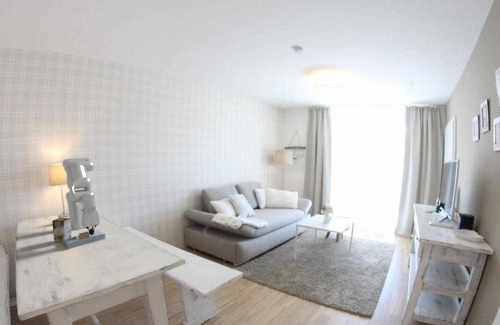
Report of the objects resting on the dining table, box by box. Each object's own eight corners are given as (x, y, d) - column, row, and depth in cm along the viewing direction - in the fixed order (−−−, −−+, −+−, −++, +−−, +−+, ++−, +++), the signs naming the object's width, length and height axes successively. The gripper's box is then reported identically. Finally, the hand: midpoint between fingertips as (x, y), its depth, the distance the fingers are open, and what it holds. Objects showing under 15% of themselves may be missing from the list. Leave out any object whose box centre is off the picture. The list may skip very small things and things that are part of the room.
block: (79, 238, 168) (78, 233, 168) (87, 236, 172) (87, 231, 172) (80, 240, 165) (80, 235, 165) (89, 237, 168) (89, 233, 168)
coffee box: (53, 242, 170) (51, 220, 169) (61, 238, 176) (59, 217, 175) (65, 242, 169) (63, 220, 168) (72, 239, 176) (70, 217, 174)
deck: (63, 243, 168) (62, 237, 168) (98, 233, 184) (98, 228, 184) (68, 249, 158) (67, 243, 157) (105, 238, 174) (105, 233, 174)
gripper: (78, 213, 161) (80, 239, 163) (103, 208, 173) (105, 232, 174) (75, 211, 166) (77, 236, 168) (99, 206, 178) (101, 230, 179)
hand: (91, 234), depth 171 cm, fingers closed
